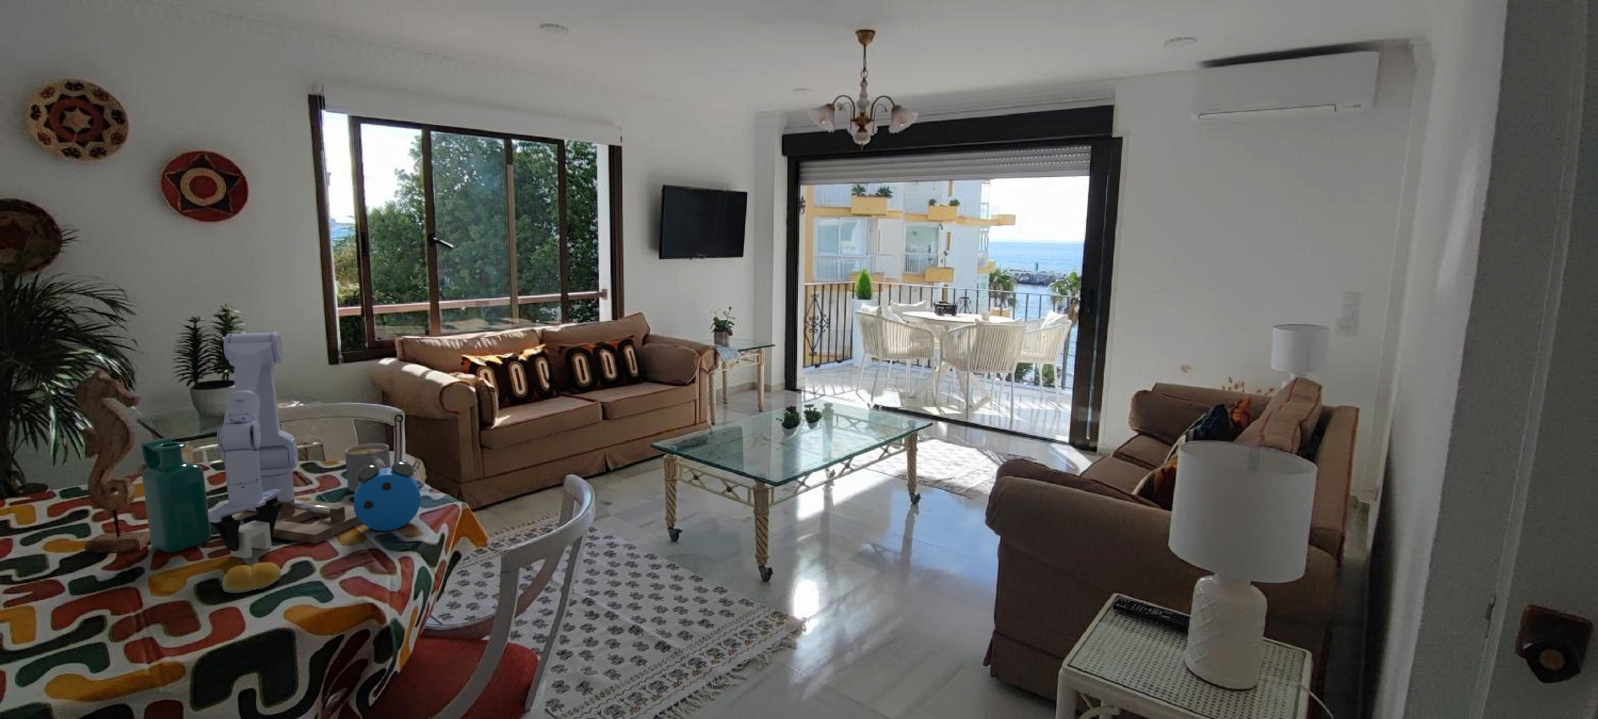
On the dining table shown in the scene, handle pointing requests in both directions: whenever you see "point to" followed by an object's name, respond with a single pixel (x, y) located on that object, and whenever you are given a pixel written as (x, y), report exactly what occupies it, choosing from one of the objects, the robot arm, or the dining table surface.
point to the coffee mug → (365, 460)
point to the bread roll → (250, 577)
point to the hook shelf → (294, 530)
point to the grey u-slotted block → (252, 538)
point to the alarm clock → (386, 496)
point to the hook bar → (309, 507)
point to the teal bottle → (174, 497)
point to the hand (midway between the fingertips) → (250, 542)
